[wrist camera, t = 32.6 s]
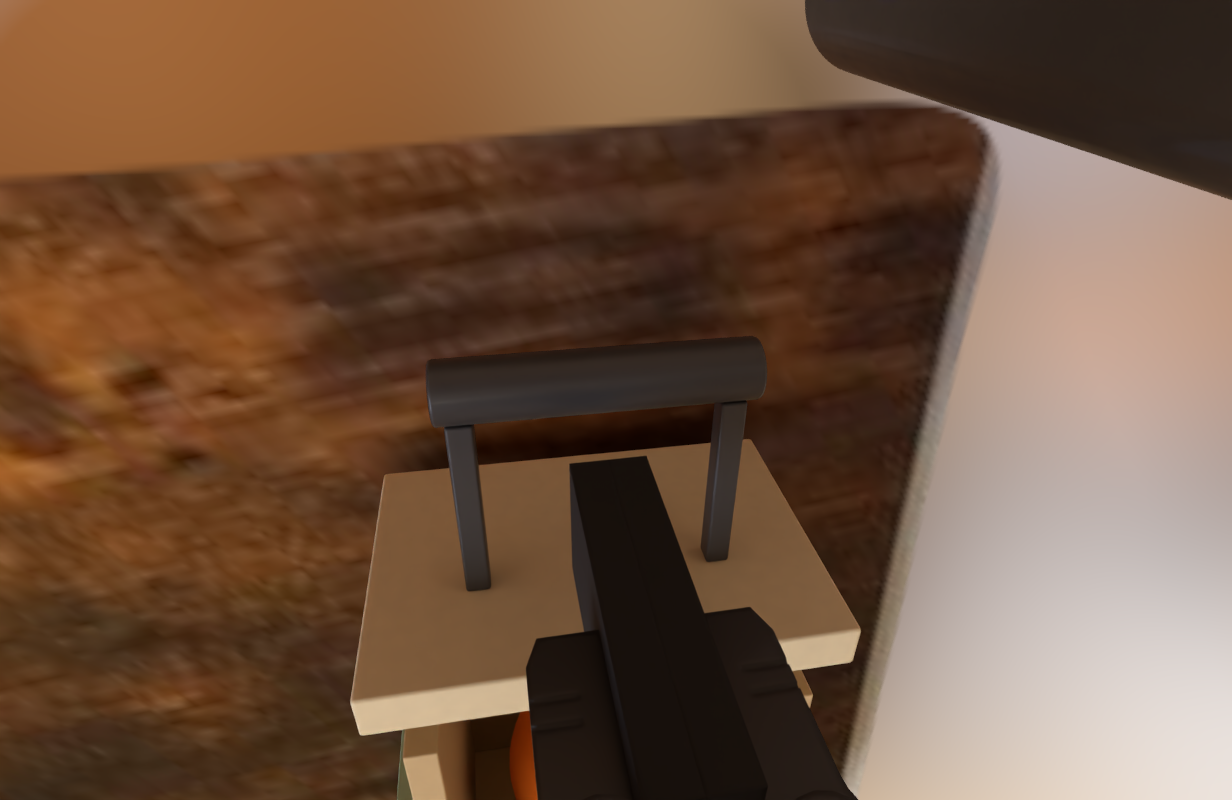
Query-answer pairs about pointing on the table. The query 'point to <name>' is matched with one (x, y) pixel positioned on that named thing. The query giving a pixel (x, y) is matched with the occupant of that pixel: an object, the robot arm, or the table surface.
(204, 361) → the table surface
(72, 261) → the table surface
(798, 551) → the drawer
